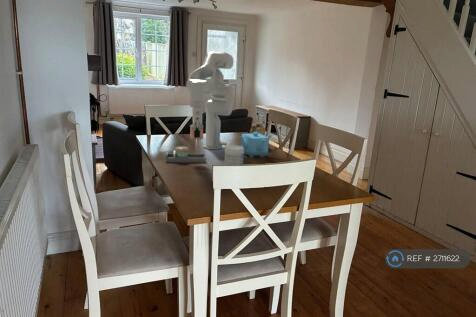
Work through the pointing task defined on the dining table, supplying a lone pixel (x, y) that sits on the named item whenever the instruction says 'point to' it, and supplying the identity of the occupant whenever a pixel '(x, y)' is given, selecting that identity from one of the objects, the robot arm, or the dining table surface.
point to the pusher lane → (190, 158)
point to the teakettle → (255, 144)
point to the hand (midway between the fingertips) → (196, 135)
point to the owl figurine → (257, 128)
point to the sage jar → (181, 152)
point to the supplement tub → (234, 155)
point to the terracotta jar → (192, 128)
